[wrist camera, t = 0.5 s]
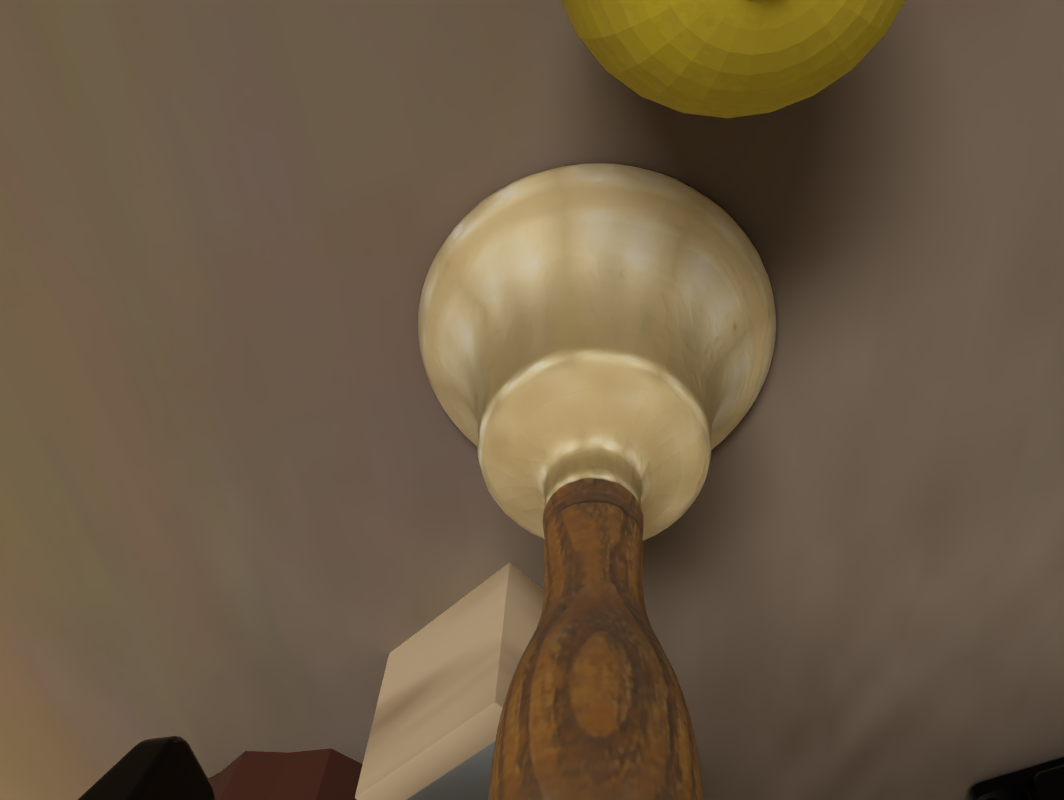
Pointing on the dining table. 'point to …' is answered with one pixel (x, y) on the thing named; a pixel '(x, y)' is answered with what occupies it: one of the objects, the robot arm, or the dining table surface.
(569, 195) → the hand bell
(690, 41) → the lemon
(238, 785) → the muffin
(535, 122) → the dining table surface
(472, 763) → the oak block
